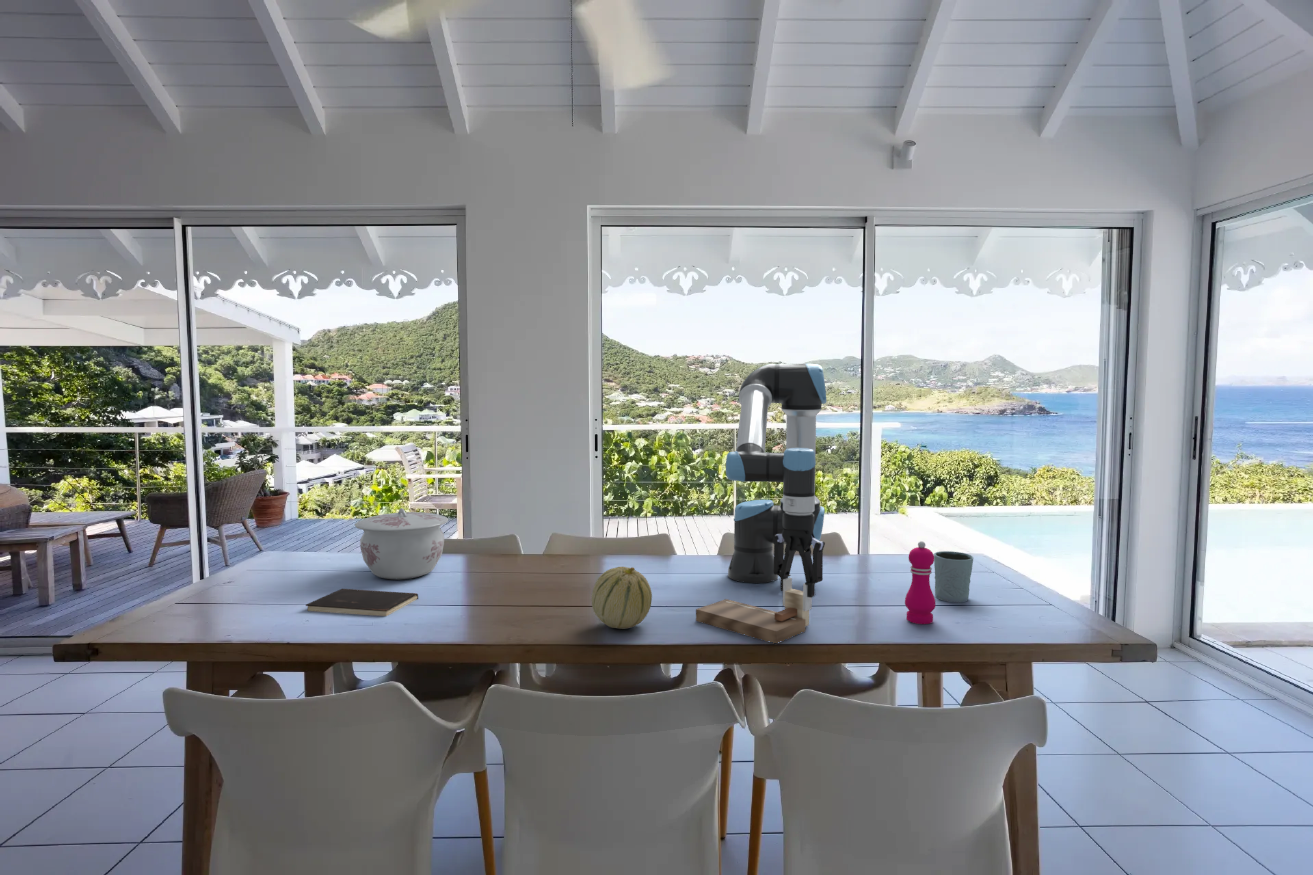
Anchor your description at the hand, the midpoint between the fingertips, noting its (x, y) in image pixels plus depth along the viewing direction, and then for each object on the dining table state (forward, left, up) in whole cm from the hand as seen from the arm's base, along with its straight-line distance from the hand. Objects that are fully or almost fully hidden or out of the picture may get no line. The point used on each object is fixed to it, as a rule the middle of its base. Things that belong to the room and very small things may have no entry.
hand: (797, 606), depth 182 cm
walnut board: (-8, -8, -5) cm, 13 cm away
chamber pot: (-115, -42, -5) cm, 123 cm away
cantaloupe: (-30, -30, -5) cm, 43 cm away
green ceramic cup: (+18, +50, -5) cm, 53 cm away
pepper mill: (+20, +25, -5) cm, 32 cm away
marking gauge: (0, -3, -4) cm, 5 cm away
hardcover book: (-93, -65, -6) cm, 114 cm away
